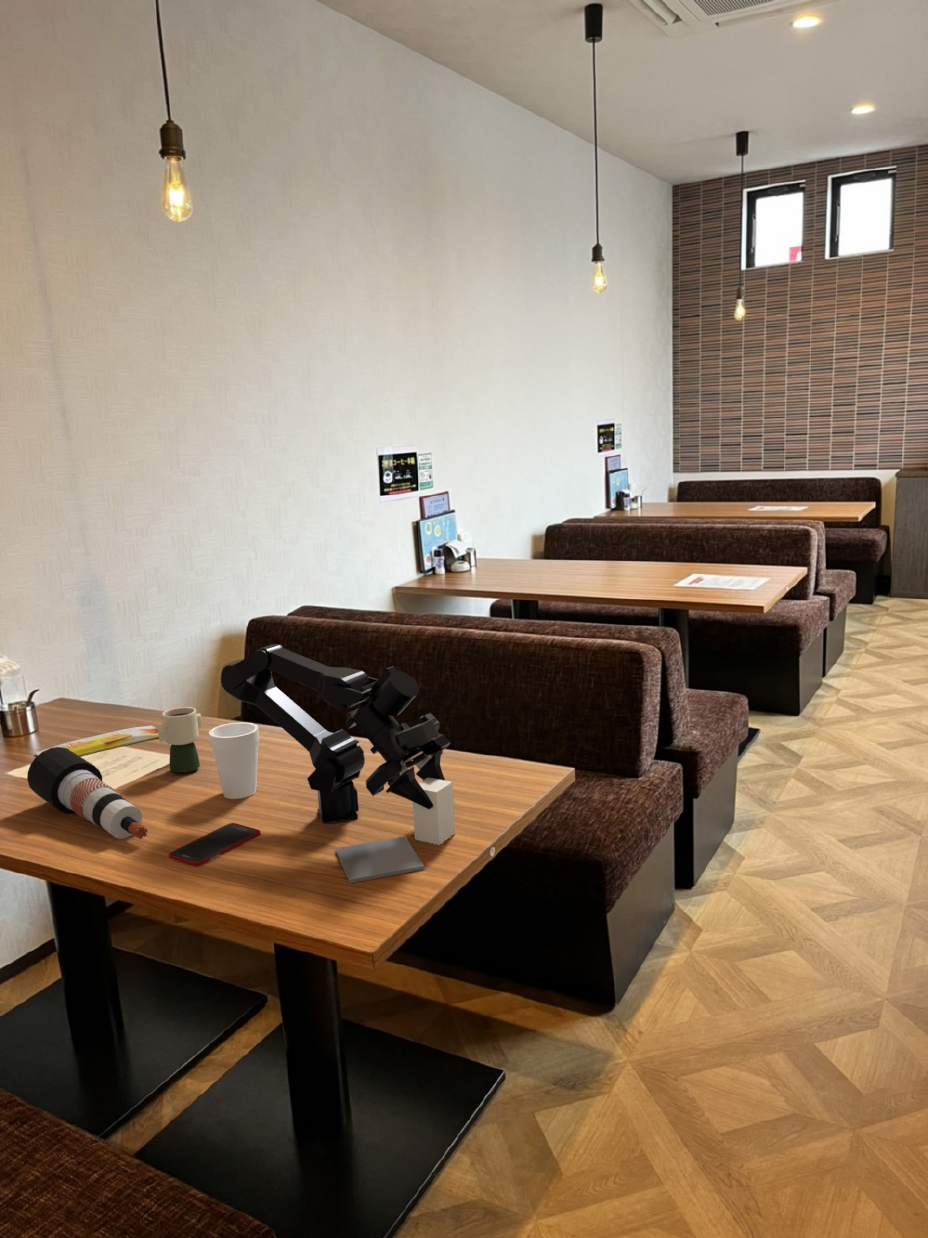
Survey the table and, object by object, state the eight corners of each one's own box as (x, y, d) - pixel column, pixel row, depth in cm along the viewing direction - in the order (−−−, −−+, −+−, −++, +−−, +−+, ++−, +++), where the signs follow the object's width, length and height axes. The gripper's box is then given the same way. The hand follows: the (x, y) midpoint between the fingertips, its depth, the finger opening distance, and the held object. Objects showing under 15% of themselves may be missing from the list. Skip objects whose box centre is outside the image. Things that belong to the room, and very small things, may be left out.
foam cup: (273, 791, 184) (267, 728, 182) (232, 805, 178) (226, 741, 175) (246, 780, 191) (240, 719, 188) (206, 794, 184) (199, 731, 182)
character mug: (195, 759, 205) (189, 702, 202) (216, 765, 200) (210, 707, 198) (153, 775, 196) (146, 716, 193) (174, 781, 192) (167, 721, 189)
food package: (45, 758, 205) (33, 748, 213) (47, 768, 205) (34, 757, 213) (166, 729, 221) (151, 720, 229) (167, 738, 222) (152, 729, 229)
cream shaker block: (415, 839, 160) (411, 787, 158) (430, 828, 164) (428, 777, 162) (439, 845, 157) (436, 792, 155) (455, 833, 161) (452, 781, 159)
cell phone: (262, 835, 165) (262, 830, 165) (197, 869, 153) (196, 863, 153) (232, 826, 169) (232, 821, 169) (166, 859, 157) (166, 853, 157)
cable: (132, 872, 162) (103, 835, 156) (45, 806, 184) (16, 771, 178) (177, 831, 167) (151, 793, 161) (87, 771, 189) (61, 736, 183)
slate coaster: (349, 883, 145) (349, 879, 145) (336, 851, 156) (335, 848, 156) (424, 869, 149) (424, 865, 149) (405, 839, 160) (405, 836, 160)
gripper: (375, 719, 150) (436, 795, 146) (438, 689, 166) (495, 757, 162) (340, 758, 156) (398, 832, 152) (404, 726, 171) (458, 792, 168)
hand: (440, 801), depth 158 cm, fingers closed on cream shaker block, 5 cm apart
